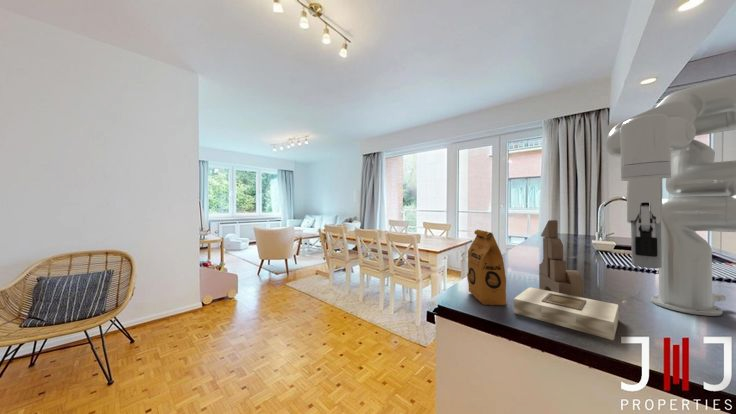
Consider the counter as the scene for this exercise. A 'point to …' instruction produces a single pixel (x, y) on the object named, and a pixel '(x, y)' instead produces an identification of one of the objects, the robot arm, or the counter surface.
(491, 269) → the coffee package
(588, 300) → the rectangular box
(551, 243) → the wooden toy
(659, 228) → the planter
